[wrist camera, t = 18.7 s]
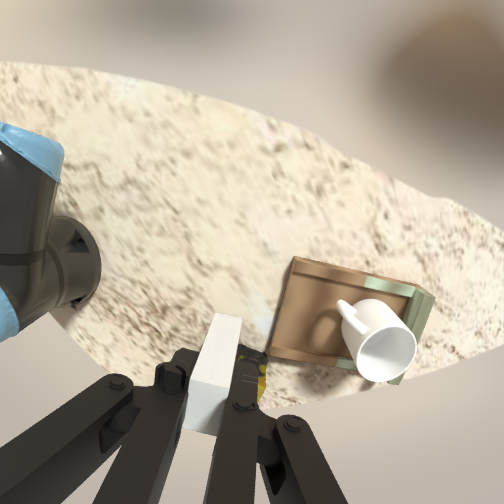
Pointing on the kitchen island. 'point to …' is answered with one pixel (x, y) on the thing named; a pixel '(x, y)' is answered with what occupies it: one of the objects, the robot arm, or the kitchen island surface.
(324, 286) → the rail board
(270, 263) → the kitchen island surface
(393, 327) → the cup
